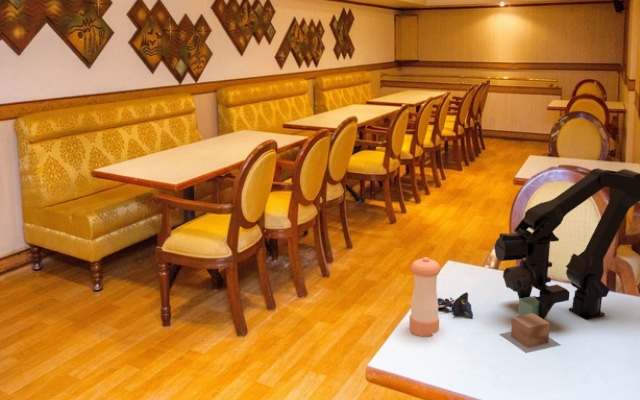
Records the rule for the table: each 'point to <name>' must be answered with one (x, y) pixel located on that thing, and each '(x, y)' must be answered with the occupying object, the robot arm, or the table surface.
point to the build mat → (533, 348)
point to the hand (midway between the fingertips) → (532, 314)
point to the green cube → (529, 306)
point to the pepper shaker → (424, 298)
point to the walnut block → (530, 329)
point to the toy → (457, 305)
